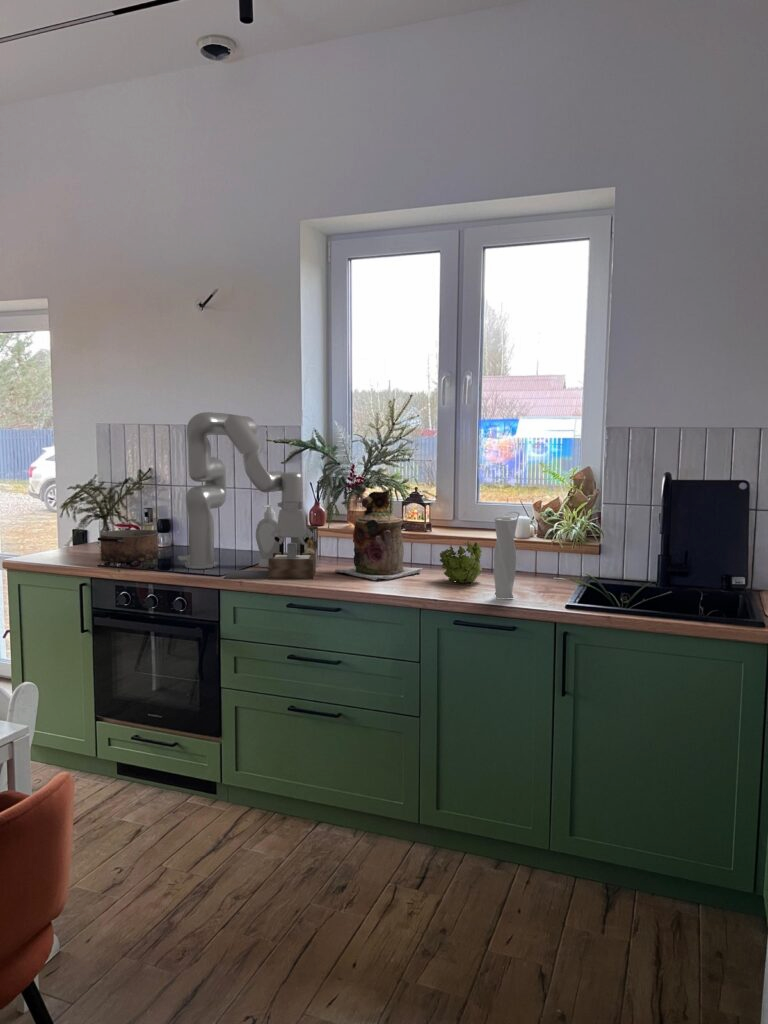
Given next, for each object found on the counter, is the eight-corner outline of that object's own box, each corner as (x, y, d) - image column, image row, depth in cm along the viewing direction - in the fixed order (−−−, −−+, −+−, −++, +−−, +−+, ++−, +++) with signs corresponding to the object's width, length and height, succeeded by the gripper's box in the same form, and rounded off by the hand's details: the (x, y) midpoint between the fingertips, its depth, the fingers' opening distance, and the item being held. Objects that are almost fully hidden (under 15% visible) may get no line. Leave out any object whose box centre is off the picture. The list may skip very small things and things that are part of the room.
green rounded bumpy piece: (493, 574, 261) (459, 545, 258) (462, 601, 268) (428, 573, 265) (494, 550, 277) (462, 522, 274) (464, 576, 284) (433, 549, 281)
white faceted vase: (514, 595, 251) (516, 510, 248) (519, 600, 243) (521, 513, 241) (490, 594, 251) (492, 510, 248) (494, 599, 243) (496, 512, 240)
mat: (223, 578, 273) (223, 577, 273) (231, 571, 288) (231, 570, 288) (265, 578, 273) (265, 577, 273) (270, 571, 288) (270, 570, 288)
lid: (272, 562, 275) (272, 545, 274) (275, 558, 286) (275, 541, 285) (308, 563, 275) (308, 546, 274) (310, 558, 286) (310, 541, 285)
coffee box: (306, 565, 303) (306, 525, 302) (318, 566, 300) (318, 526, 298) (290, 568, 296) (290, 527, 294) (302, 569, 292) (302, 528, 291)
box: (268, 578, 273) (268, 559, 272) (273, 571, 288) (273, 552, 287) (313, 579, 274) (313, 559, 273) (315, 571, 288) (315, 553, 288)
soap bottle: (249, 567, 296) (248, 505, 294) (259, 564, 303) (259, 503, 301) (278, 569, 291) (278, 506, 289) (288, 566, 299) (287, 505, 296)
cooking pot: (125, 566, 296) (124, 539, 295) (81, 562, 305) (81, 535, 303) (175, 555, 323) (174, 530, 322) (134, 551, 332) (133, 527, 331)
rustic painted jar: (377, 565, 304) (378, 486, 301) (424, 574, 287) (426, 489, 284) (332, 573, 286) (332, 488, 283) (379, 582, 269) (380, 492, 266)
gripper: (266, 507, 274) (267, 556, 276) (315, 507, 275) (314, 556, 277) (269, 505, 282) (269, 552, 284) (316, 505, 282) (316, 553, 284)
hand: (291, 554), depth 280 cm, fingers open, 6 cm apart
